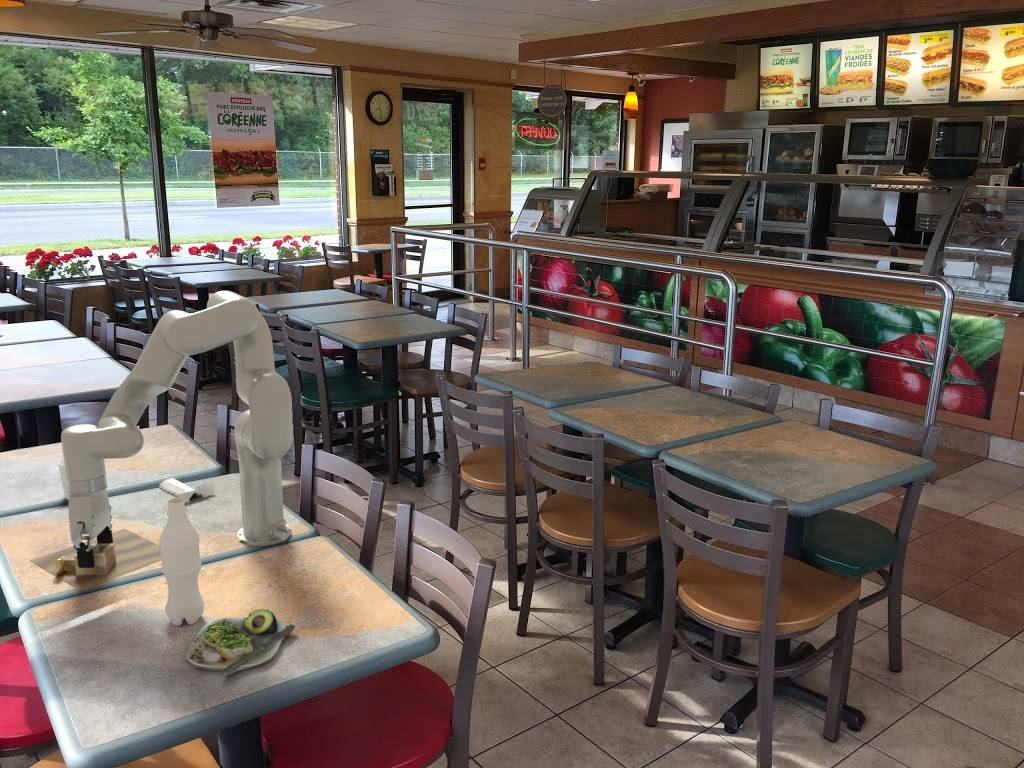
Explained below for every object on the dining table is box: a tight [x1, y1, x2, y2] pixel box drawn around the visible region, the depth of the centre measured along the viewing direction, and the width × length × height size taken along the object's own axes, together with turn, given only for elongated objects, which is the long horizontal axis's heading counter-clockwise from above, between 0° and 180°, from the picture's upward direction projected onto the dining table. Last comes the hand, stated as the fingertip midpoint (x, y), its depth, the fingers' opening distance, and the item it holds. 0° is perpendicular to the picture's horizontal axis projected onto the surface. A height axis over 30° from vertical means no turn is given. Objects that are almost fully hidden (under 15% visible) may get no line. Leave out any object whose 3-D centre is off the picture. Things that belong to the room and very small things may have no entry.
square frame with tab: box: [61, 543, 116, 575], centre depth 181 cm, size 10×6×4 cm, turn 93°
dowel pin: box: [55, 558, 65, 577], centre depth 179 cm, size 2×2×4 cm
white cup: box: [57, 458, 70, 501], centre depth 224 cm, size 8×8×10 cm
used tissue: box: [159, 477, 216, 505], centre depth 229 cm, size 11×18×4 cm, turn 39°
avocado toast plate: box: [185, 608, 296, 677], centre depth 154 cm, size 19×18×5 cm
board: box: [29, 528, 162, 592], centre depth 187 cm, size 22×22×6 cm
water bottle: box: [158, 497, 205, 627], centre depth 162 cm, size 7×7×25 cm
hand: (96, 556), depth 182 cm, fingers open, 9 cm apart
